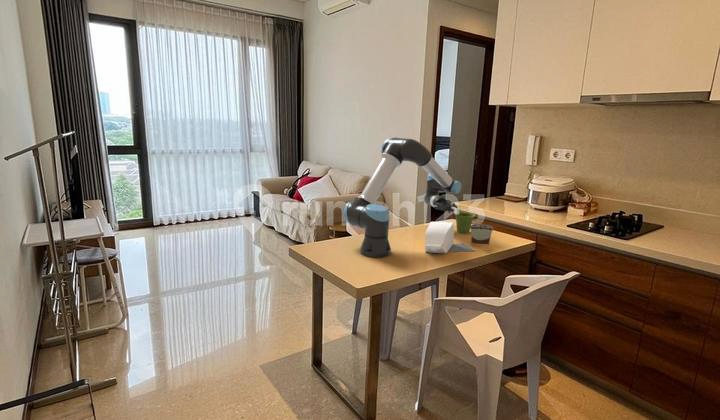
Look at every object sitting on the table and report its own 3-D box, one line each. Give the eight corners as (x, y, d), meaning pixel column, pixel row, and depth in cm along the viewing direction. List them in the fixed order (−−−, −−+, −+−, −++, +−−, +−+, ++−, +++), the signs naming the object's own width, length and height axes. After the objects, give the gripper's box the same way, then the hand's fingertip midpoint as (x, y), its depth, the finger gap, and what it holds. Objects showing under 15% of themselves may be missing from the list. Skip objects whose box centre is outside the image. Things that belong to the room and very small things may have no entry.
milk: (453, 222, 204) (444, 236, 180) (453, 243, 206) (444, 259, 183) (431, 221, 208) (419, 235, 185) (431, 241, 211) (420, 257, 187)
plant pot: (449, 230, 236) (451, 212, 233) (466, 229, 239) (468, 211, 236) (458, 235, 224) (460, 216, 222) (476, 234, 227) (478, 216, 225)
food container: (489, 241, 215) (490, 224, 213) (491, 244, 209) (493, 227, 207) (466, 240, 216) (468, 223, 214) (468, 243, 210) (470, 225, 208)
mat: (446, 252, 194) (446, 251, 194) (436, 245, 205) (436, 244, 205) (474, 250, 198) (474, 250, 198) (463, 243, 209) (463, 243, 209)
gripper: (448, 208, 228) (468, 218, 205) (428, 209, 225) (446, 219, 202) (449, 196, 226) (469, 204, 204) (429, 196, 223) (447, 205, 201)
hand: (458, 211), depth 203 cm, fingers closed
